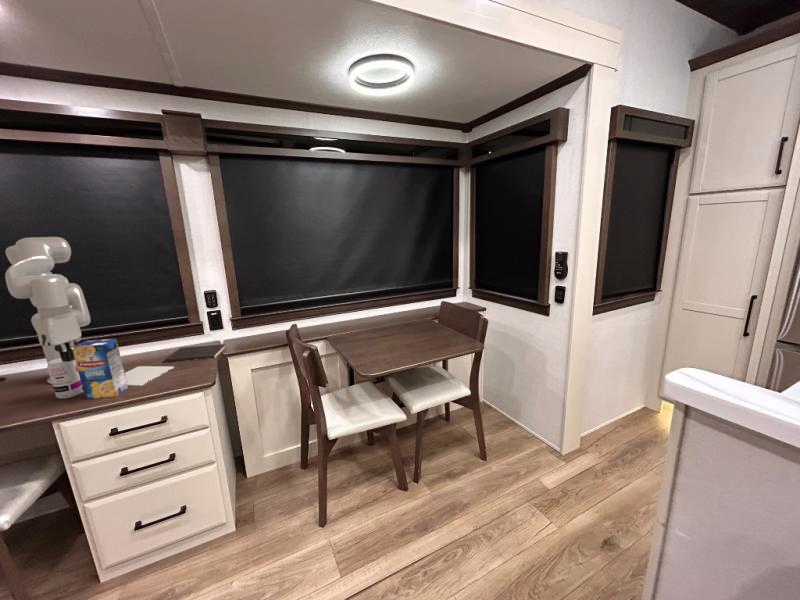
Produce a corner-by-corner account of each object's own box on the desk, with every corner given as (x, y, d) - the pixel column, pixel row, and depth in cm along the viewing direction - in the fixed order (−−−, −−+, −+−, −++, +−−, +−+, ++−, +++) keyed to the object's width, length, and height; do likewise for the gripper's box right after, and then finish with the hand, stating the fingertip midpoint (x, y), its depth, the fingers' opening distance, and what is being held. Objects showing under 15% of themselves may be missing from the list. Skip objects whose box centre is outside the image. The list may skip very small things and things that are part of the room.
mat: (101, 385, 133) (101, 384, 133) (138, 367, 151) (138, 366, 151) (141, 386, 132) (140, 384, 132) (173, 367, 150) (173, 366, 150)
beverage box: (117, 396, 125) (103, 344, 120) (85, 399, 123) (71, 346, 118) (128, 387, 131) (116, 338, 126) (98, 390, 129) (85, 340, 125)
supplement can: (83, 387, 133) (74, 354, 129) (86, 393, 128) (77, 359, 124) (55, 395, 127) (45, 360, 123) (57, 401, 121) (46, 366, 118)
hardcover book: (181, 351, 171) (180, 347, 171) (226, 348, 175) (225, 344, 175) (165, 363, 156) (164, 359, 155) (214, 359, 160) (214, 355, 159)
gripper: (68, 307, 116) (81, 352, 120) (18, 318, 102) (34, 369, 106) (87, 306, 116) (99, 352, 120) (39, 317, 101) (54, 369, 105)
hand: (68, 360), depth 113 cm, fingers closed
